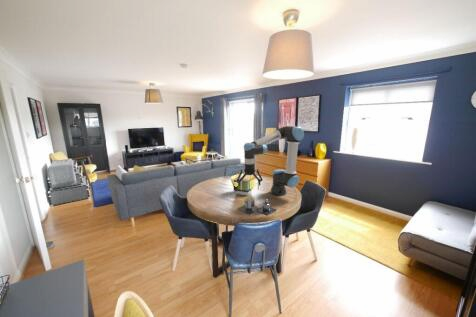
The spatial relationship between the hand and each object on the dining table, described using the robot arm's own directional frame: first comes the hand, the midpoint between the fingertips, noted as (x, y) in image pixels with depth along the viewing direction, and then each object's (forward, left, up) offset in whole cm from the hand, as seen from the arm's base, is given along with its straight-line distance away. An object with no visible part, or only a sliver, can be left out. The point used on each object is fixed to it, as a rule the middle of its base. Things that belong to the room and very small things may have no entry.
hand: (249, 189), depth 158 cm
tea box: (-20, -29, -17) cm, 39 cm away
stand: (-8, +11, -17) cm, 21 cm away
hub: (0, 0, -17) cm, 17 cm away
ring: (0, 0, -13) cm, 13 cm away
